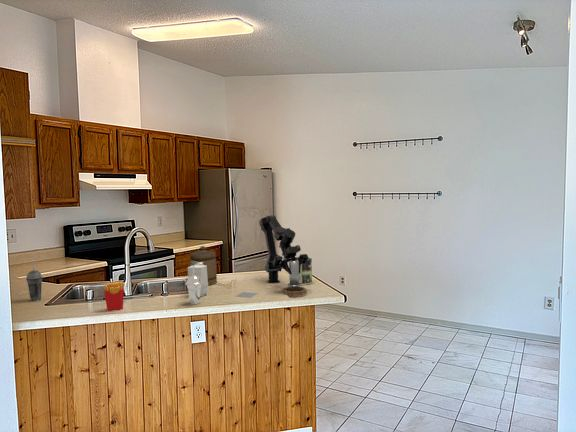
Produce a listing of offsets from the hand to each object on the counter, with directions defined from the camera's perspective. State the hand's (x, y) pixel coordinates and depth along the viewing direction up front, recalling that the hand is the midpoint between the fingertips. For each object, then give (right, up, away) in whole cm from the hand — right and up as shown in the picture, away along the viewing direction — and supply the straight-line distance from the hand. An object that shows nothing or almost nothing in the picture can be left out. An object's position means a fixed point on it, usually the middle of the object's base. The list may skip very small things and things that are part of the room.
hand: (295, 273), depth 227 cm
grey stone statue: (-49, -13, -11) cm, 52 cm away
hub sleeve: (0, -6, +2) cm, 7 cm away
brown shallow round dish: (0, -11, +2) cm, 11 cm away
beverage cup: (-134, -14, -2) cm, 135 cm away
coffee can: (+5, -9, +27) cm, 29 cm away
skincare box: (-51, -12, +4) cm, 52 cm away
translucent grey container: (-53, -10, +30) cm, 62 cm away
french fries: (-85, -15, -20) cm, 89 cm away
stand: (-25, -12, -2) cm, 28 cm away
